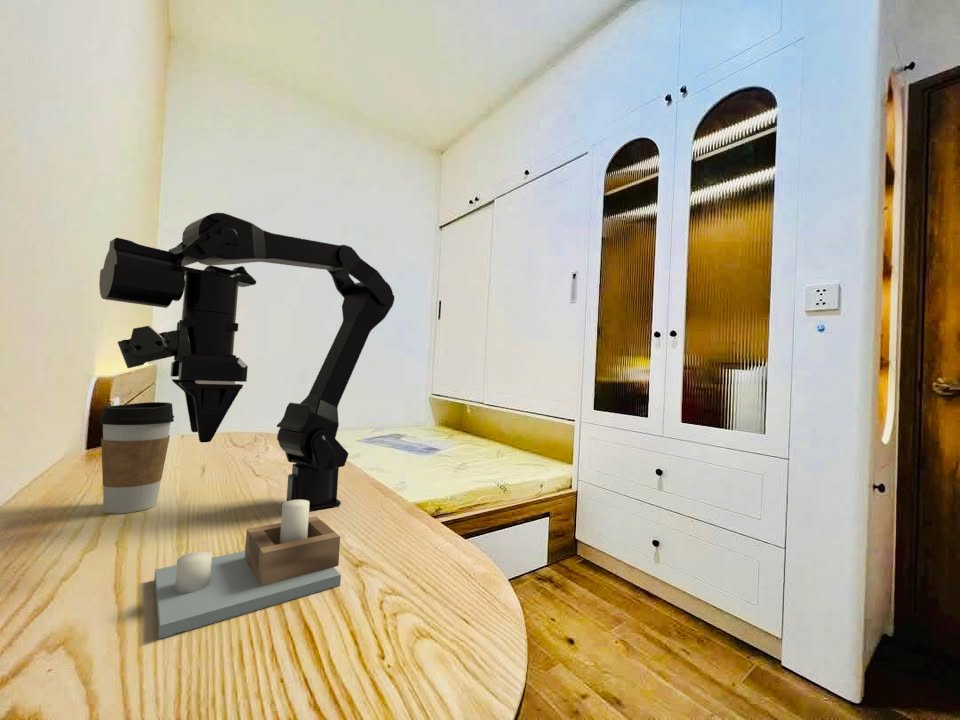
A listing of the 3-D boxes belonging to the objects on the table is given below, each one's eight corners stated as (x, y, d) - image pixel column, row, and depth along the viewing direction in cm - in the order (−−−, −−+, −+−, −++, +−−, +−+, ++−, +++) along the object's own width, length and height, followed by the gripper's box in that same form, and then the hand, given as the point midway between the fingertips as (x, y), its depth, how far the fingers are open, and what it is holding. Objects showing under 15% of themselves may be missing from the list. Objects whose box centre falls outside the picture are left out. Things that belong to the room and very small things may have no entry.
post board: (304, 546, 48) (308, 487, 48) (340, 585, 40) (344, 512, 40) (154, 580, 39) (160, 506, 39) (159, 639, 31) (166, 545, 31)
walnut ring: (314, 542, 47) (316, 516, 47) (338, 565, 42) (340, 536, 42) (244, 557, 42) (246, 528, 43) (260, 586, 37) (263, 553, 37)
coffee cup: (180, 503, 61) (188, 404, 62) (115, 520, 53) (125, 406, 54) (143, 495, 64) (151, 401, 65) (76, 511, 56) (86, 403, 57)
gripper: (128, 312, 54) (117, 430, 53) (124, 293, 40) (110, 455, 39) (225, 322, 61) (218, 426, 60) (252, 310, 47) (242, 446, 46)
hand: (200, 436), depth 51 cm, fingers open, 9 cm apart
